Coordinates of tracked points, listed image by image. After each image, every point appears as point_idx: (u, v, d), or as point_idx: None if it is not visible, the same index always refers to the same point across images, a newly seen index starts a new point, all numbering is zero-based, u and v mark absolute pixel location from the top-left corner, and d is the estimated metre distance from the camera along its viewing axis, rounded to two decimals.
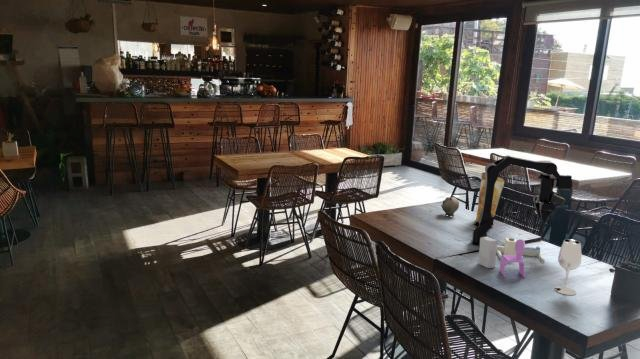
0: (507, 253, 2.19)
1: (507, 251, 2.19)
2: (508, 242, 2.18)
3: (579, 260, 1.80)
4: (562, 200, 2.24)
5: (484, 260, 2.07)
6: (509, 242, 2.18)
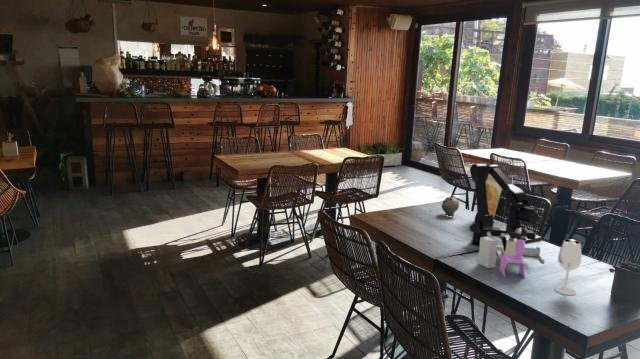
0: (507, 253, 2.19)
1: (507, 251, 2.19)
2: (508, 242, 2.18)
3: (579, 260, 1.80)
4: (510, 232, 2.12)
5: (484, 260, 2.07)
6: (509, 242, 2.18)
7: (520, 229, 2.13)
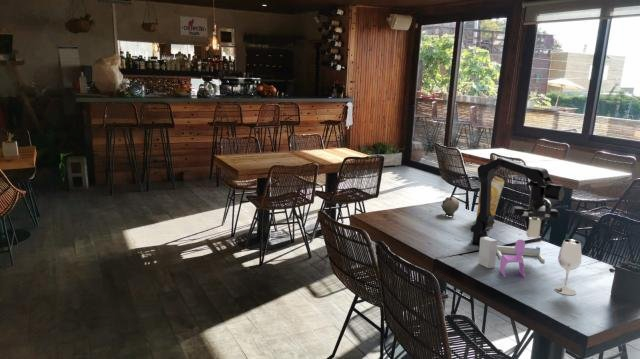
0: (530, 232, 2.15)
1: (530, 230, 2.15)
2: (531, 221, 2.14)
3: (579, 260, 1.80)
4: (534, 210, 2.09)
5: (484, 260, 2.07)
6: (532, 221, 2.14)
7: (544, 207, 2.09)
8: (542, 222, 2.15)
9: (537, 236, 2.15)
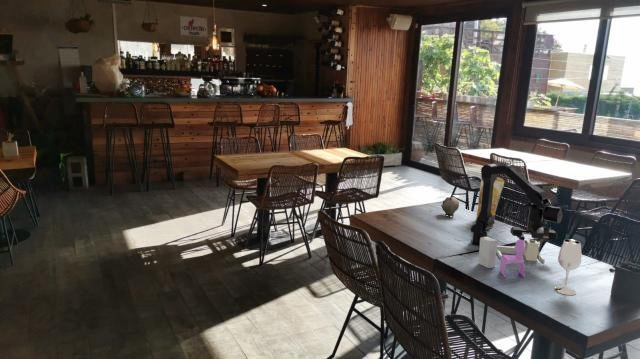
0: (528, 255, 2.18)
1: (528, 253, 2.17)
2: (529, 244, 2.17)
3: (579, 260, 1.80)
4: (532, 232, 2.11)
5: (484, 260, 2.07)
6: (530, 244, 2.17)
7: (542, 229, 2.11)
8: (543, 243, 2.16)
9: (535, 259, 2.17)
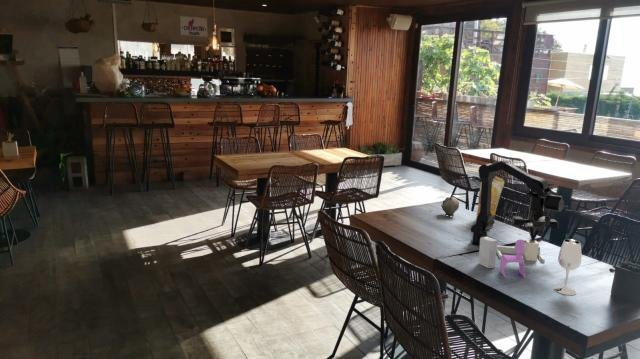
0: (528, 255, 2.18)
1: (528, 253, 2.17)
2: (529, 244, 2.17)
3: (579, 260, 1.80)
4: (533, 221, 2.10)
5: (484, 260, 2.07)
6: (530, 244, 2.17)
7: (543, 218, 2.10)
8: (536, 232, 2.16)
9: (535, 259, 2.17)
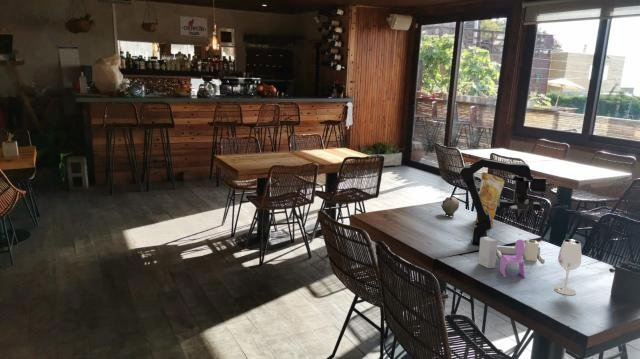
0: (528, 255, 2.18)
1: (528, 253, 2.17)
2: (529, 244, 2.17)
3: (579, 260, 1.80)
4: (517, 203, 2.22)
5: (484, 260, 2.07)
6: (530, 244, 2.17)
7: (527, 200, 2.22)
8: (521, 214, 2.28)
9: (535, 259, 2.17)
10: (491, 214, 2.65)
